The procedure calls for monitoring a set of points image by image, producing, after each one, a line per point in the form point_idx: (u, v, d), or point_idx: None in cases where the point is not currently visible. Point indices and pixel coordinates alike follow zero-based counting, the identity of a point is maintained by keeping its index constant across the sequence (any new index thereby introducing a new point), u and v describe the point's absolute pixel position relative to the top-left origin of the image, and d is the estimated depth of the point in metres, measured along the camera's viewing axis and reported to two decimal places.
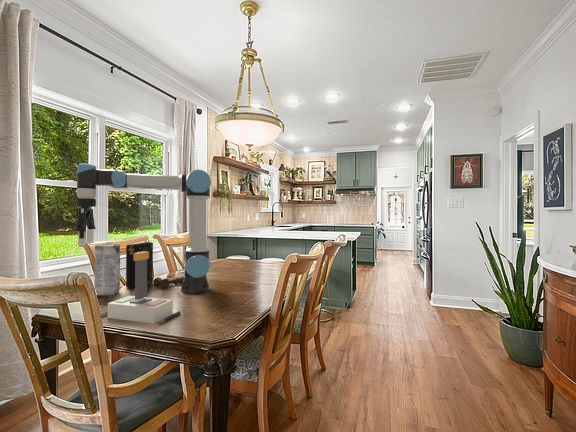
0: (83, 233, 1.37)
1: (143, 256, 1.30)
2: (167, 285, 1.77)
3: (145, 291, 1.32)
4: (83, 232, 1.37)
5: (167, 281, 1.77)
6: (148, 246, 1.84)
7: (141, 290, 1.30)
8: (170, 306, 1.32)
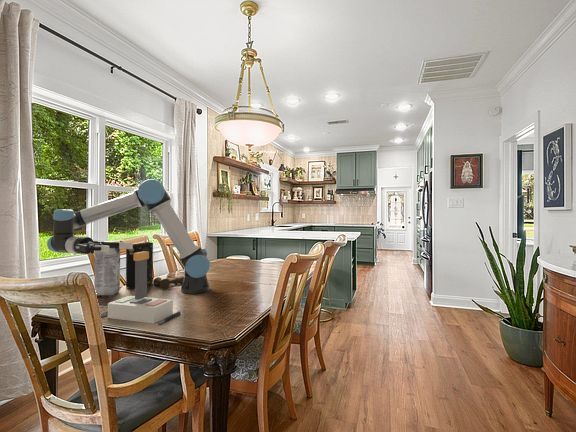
0: (95, 246, 1.27)
1: (143, 256, 1.30)
2: (167, 285, 1.77)
3: (145, 291, 1.32)
4: (94, 246, 1.27)
5: (167, 281, 1.77)
6: (148, 246, 1.84)
7: (141, 290, 1.30)
8: (170, 306, 1.32)
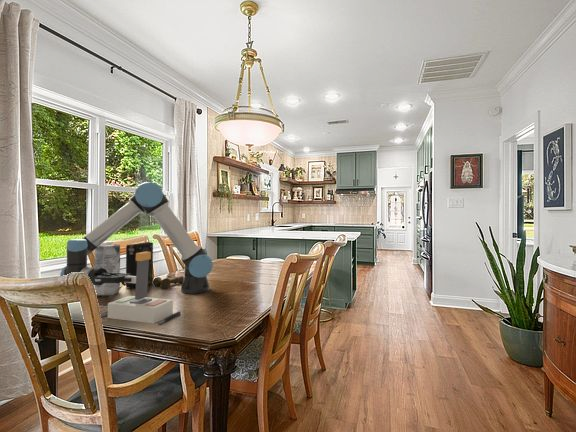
0: (125, 278, 1.30)
1: (145, 257, 1.29)
2: (168, 284, 1.78)
3: (145, 291, 1.32)
4: (125, 278, 1.31)
5: (168, 280, 1.78)
6: (148, 246, 1.84)
7: (141, 290, 1.29)
8: (170, 306, 1.32)
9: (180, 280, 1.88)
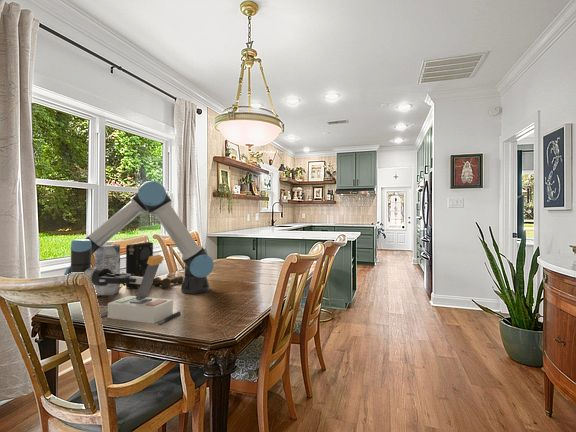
0: (130, 278, 1.30)
1: (157, 261, 1.28)
2: (168, 284, 1.78)
3: (147, 292, 1.32)
4: (129, 278, 1.30)
5: (168, 280, 1.78)
6: (148, 246, 1.84)
7: (144, 292, 1.29)
8: (170, 306, 1.32)
9: (180, 280, 1.88)
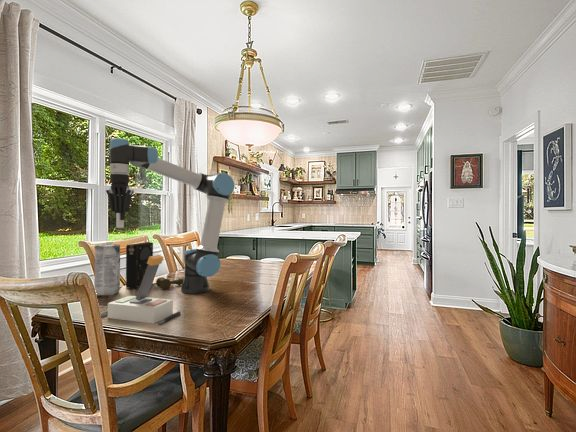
0: None
1: (157, 261, 1.28)
2: (168, 285, 1.76)
3: (147, 292, 1.32)
4: None
5: (167, 281, 1.76)
6: (148, 246, 1.84)
7: (144, 292, 1.29)
8: (170, 306, 1.32)
9: None
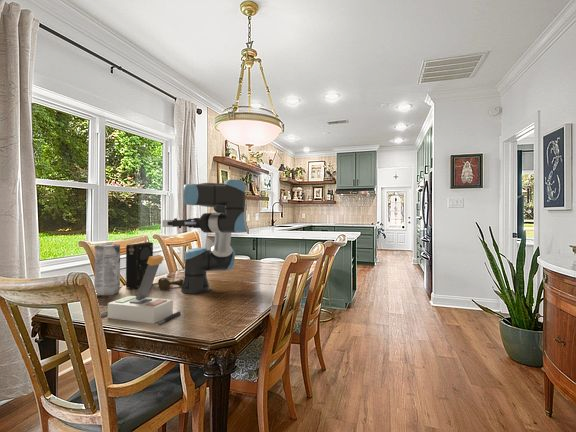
0: None
1: (157, 261, 1.28)
2: (167, 286, 1.74)
3: (147, 292, 1.32)
4: None
5: (166, 282, 1.74)
6: (148, 246, 1.84)
7: (144, 292, 1.29)
8: (170, 306, 1.32)
9: None
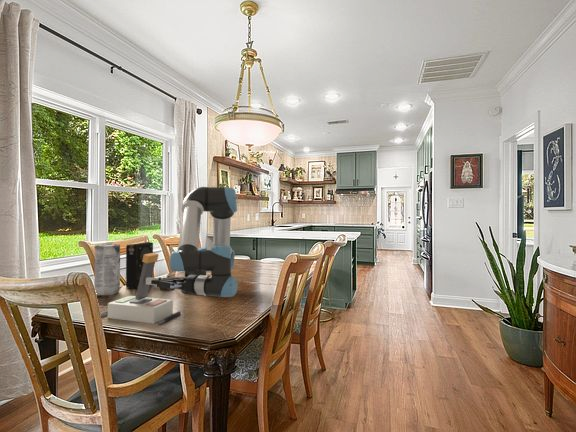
0: None
1: (152, 259, 1.28)
2: None
3: (146, 292, 1.32)
4: (161, 279, 1.28)
5: None
6: (148, 246, 1.84)
7: (143, 291, 1.29)
8: (170, 306, 1.32)
9: None
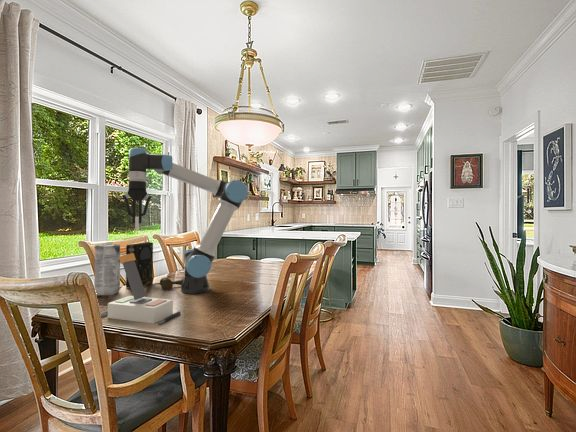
0: None
1: (129, 257, 1.31)
2: (169, 286, 1.75)
3: (143, 291, 1.32)
4: None
5: (169, 281, 1.75)
6: (148, 246, 1.84)
7: (138, 290, 1.30)
8: (170, 306, 1.32)
9: None
